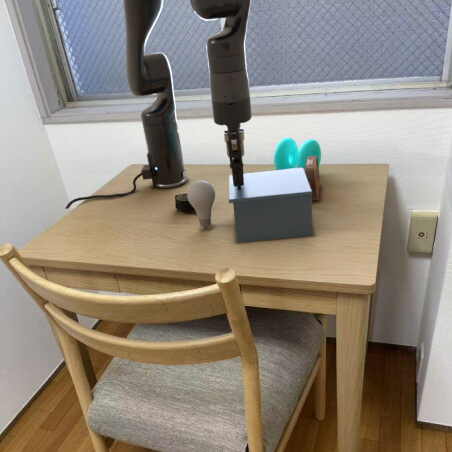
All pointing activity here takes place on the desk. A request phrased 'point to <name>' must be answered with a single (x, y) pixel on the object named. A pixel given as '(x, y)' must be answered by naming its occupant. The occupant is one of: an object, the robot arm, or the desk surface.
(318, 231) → the desk surface
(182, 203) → the tape measure
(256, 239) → the compartment
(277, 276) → the desk surface
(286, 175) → the lid
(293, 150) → the turquoise spool
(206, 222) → the lightbulb
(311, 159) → the tin
